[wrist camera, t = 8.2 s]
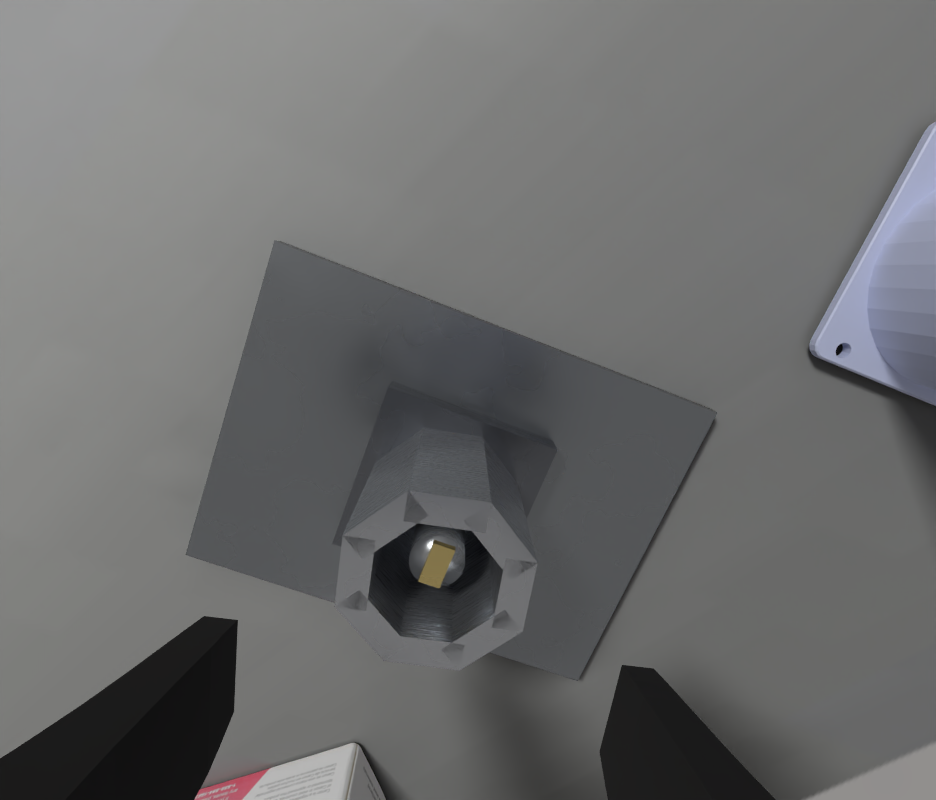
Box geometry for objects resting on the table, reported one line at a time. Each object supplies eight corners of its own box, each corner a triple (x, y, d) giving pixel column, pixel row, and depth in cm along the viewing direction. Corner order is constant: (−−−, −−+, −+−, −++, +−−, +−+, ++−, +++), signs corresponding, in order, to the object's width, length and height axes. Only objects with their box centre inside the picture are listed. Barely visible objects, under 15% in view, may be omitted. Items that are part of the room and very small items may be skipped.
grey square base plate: (709, 408, 19) (816, 468, 13) (574, 669, 21) (615, 813, 16) (280, 241, 17) (191, 226, 11) (193, 546, 20) (86, 656, 14)
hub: (524, 443, 17) (549, 511, 12) (499, 569, 18) (512, 677, 13) (381, 421, 17) (348, 481, 12) (364, 550, 18) (329, 654, 13)
